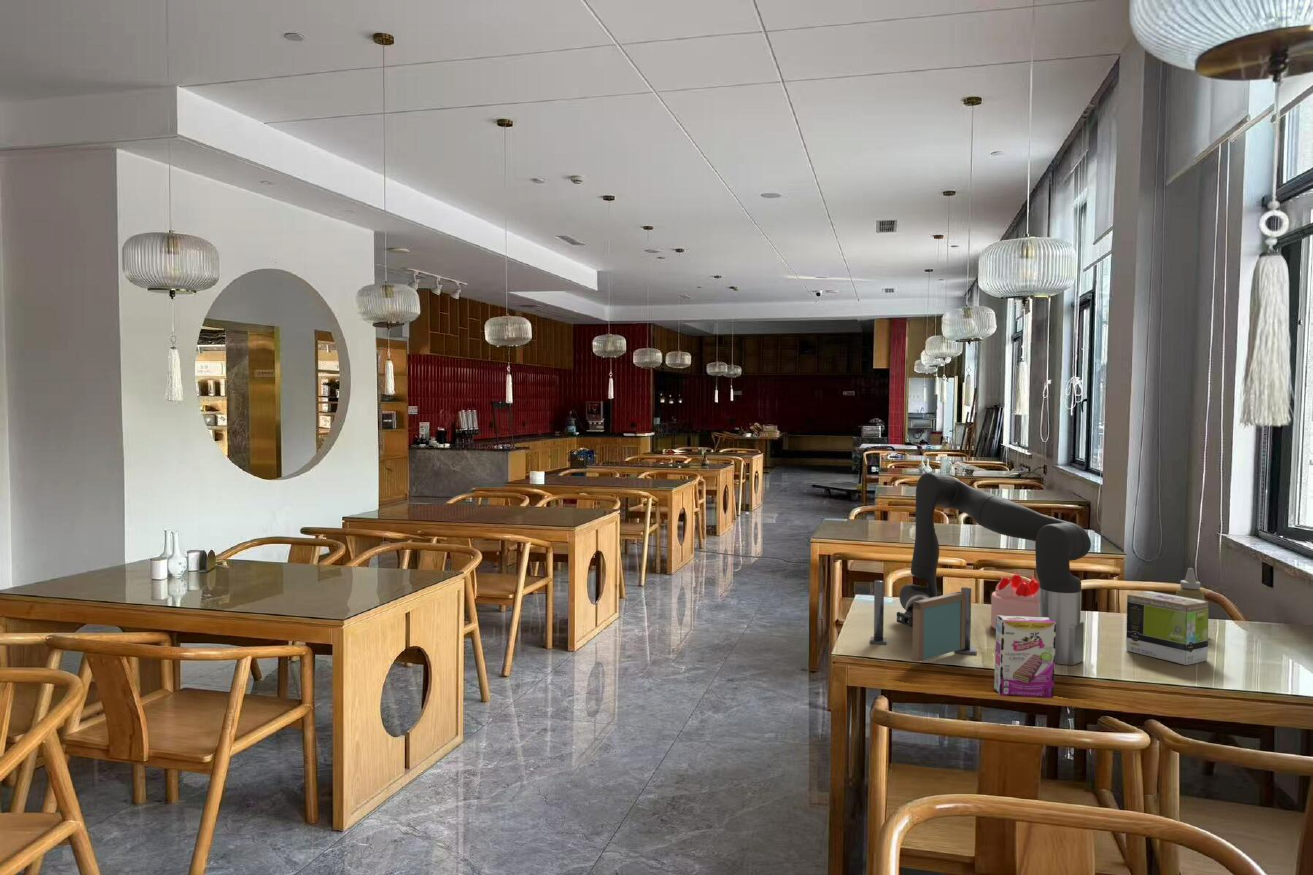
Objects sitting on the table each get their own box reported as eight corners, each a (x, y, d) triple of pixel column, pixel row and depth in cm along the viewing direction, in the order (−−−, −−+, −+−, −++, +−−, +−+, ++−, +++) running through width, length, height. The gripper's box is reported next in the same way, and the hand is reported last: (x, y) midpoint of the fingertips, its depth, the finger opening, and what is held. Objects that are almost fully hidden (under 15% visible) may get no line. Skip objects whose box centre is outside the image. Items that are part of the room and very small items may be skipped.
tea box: (1208, 660, 209) (1210, 600, 209) (1185, 666, 204) (1187, 604, 204) (1147, 645, 222) (1149, 589, 222) (1124, 651, 217) (1125, 593, 217)
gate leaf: (958, 646, 216) (959, 591, 215) (964, 648, 214) (965, 592, 214) (912, 660, 204) (913, 601, 204) (918, 661, 203) (919, 603, 202)
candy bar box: (1000, 697, 182) (1001, 620, 181) (993, 689, 187) (994, 614, 186) (1055, 699, 181) (1057, 621, 180) (1047, 691, 186) (1048, 616, 185)
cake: (987, 619, 250) (988, 570, 250) (1062, 623, 245) (1063, 574, 245) (994, 635, 232) (995, 583, 231) (1076, 641, 226) (1077, 587, 226)
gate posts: (974, 647, 220) (975, 585, 219) (976, 654, 213) (977, 590, 213) (870, 639, 227) (871, 579, 226) (869, 646, 220) (870, 584, 220)
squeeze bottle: (1175, 636, 232) (1177, 569, 231) (1168, 629, 239) (1170, 564, 239) (1210, 639, 229) (1212, 571, 228) (1202, 631, 237) (1203, 566, 236)
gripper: (894, 595, 231) (894, 610, 215) (946, 598, 228) (950, 613, 211) (894, 623, 232) (894, 639, 215) (946, 626, 228) (950, 644, 211)
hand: (922, 626), depth 213 cm, fingers closed
